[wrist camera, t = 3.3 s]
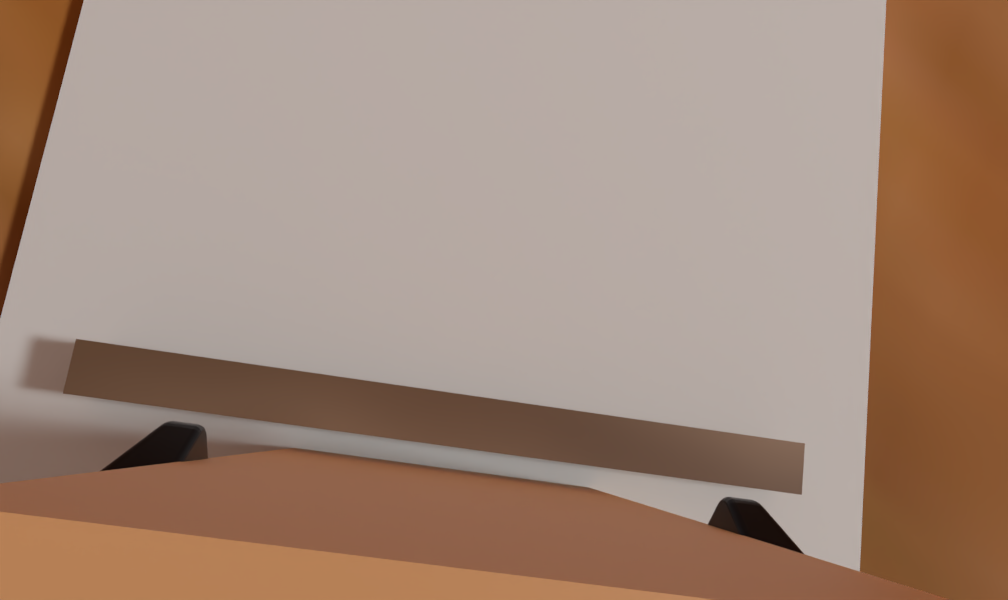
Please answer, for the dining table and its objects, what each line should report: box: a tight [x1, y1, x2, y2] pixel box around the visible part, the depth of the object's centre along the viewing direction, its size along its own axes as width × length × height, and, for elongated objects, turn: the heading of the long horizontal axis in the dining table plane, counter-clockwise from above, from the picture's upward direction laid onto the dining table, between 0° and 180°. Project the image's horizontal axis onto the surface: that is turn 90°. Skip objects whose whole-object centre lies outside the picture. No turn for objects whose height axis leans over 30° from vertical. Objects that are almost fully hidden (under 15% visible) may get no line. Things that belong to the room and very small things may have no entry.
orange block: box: [0, 448, 950, 600], centre depth 9 cm, size 3×6×12 cm, turn 82°
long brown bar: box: [63, 339, 805, 495], centre depth 15 cm, size 1×14×1 cm, turn 82°
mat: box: [0, 0, 886, 571], centre depth 17 cm, size 24×18×1 cm
